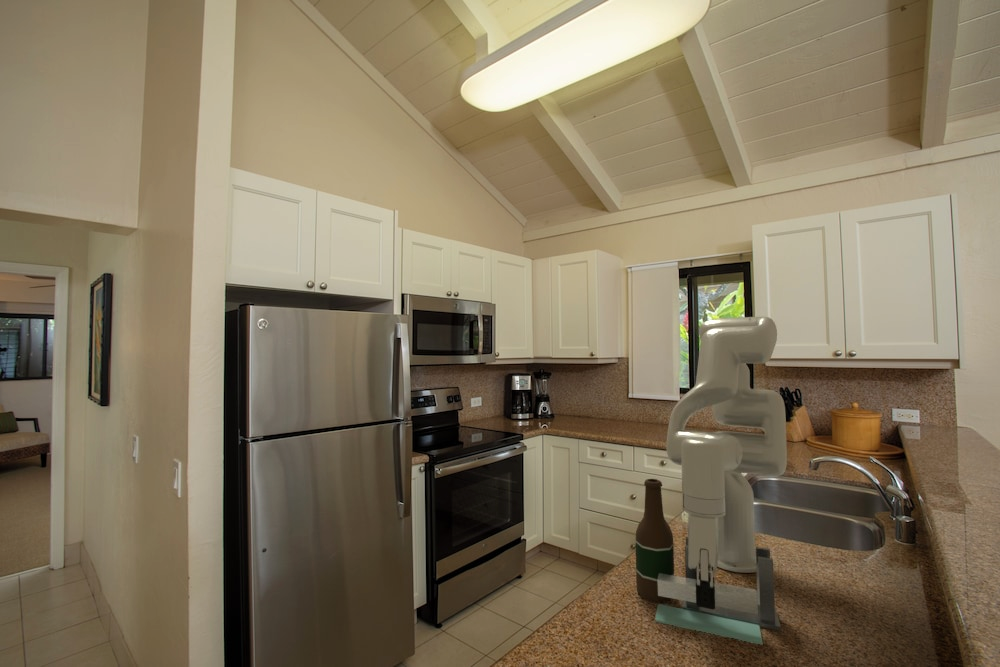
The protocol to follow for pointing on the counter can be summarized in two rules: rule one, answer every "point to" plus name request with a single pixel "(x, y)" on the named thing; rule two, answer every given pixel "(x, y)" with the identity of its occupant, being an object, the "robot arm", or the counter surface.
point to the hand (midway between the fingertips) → (705, 601)
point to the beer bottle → (653, 545)
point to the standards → (764, 594)
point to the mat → (709, 623)
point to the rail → (724, 593)
